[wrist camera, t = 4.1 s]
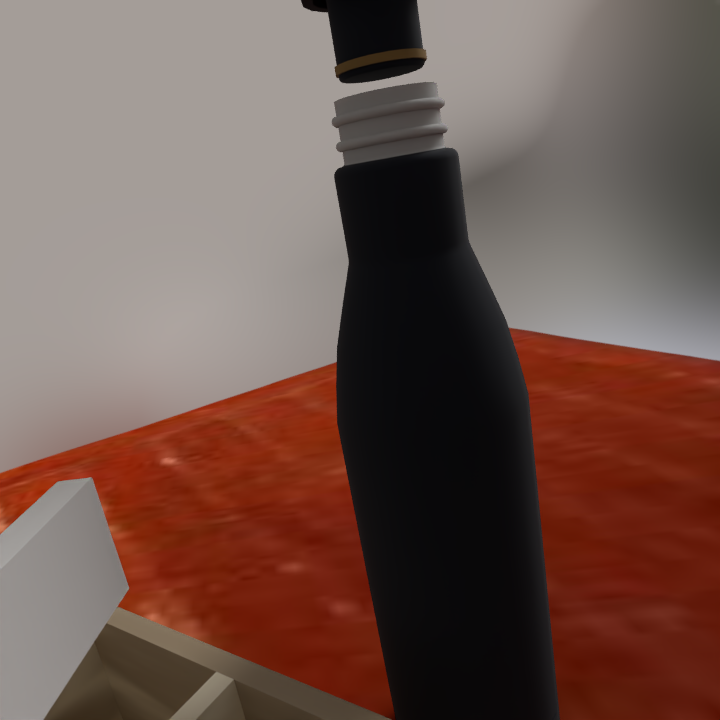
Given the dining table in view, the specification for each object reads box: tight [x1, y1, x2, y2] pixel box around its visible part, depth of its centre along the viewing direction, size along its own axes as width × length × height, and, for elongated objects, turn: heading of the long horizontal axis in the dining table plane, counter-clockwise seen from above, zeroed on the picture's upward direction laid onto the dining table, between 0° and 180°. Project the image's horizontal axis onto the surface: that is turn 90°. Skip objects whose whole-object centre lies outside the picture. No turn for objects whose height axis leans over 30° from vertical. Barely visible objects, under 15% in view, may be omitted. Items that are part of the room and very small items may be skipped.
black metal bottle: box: [301, 0, 560, 720], centre depth 21 cm, size 6×6×30 cm
